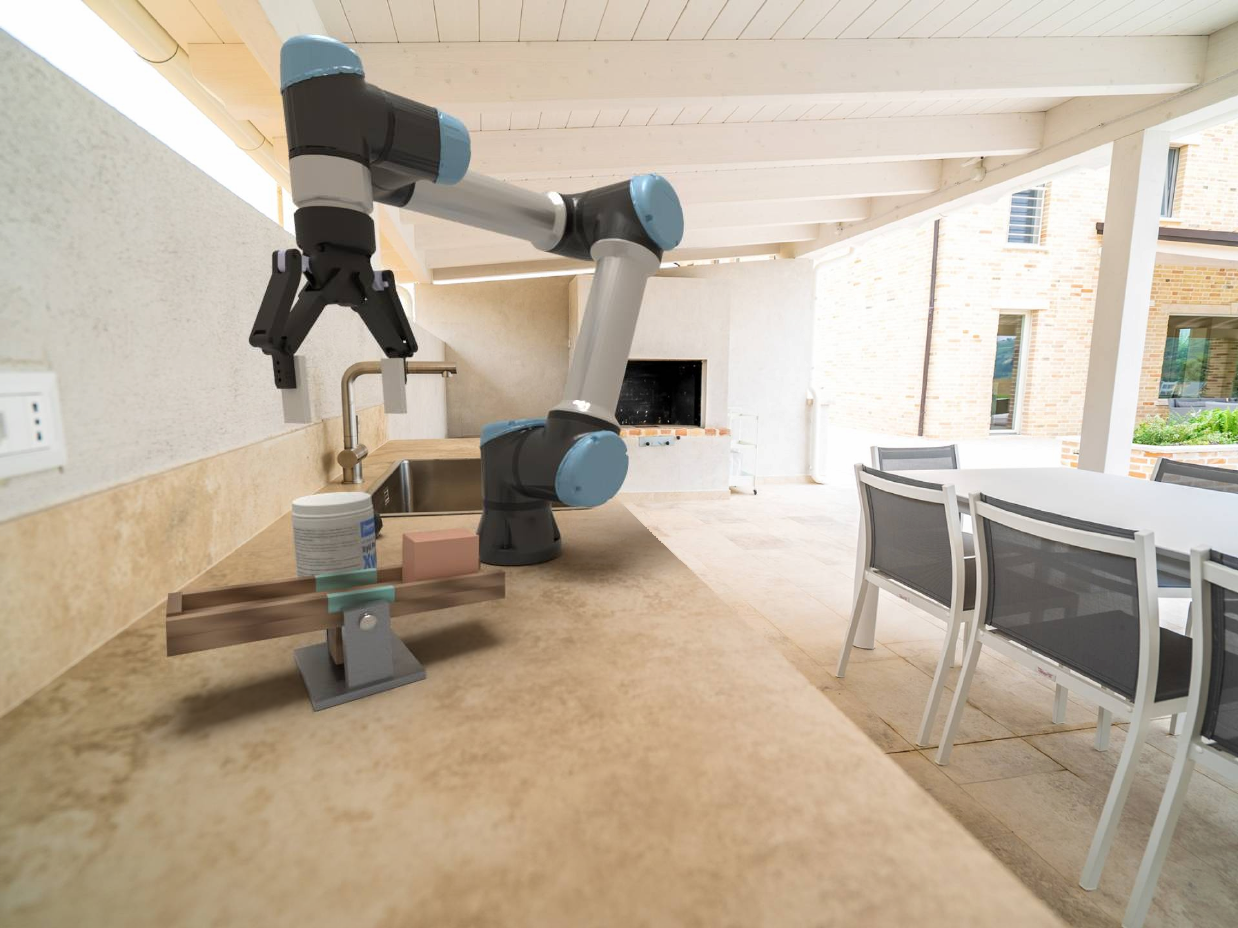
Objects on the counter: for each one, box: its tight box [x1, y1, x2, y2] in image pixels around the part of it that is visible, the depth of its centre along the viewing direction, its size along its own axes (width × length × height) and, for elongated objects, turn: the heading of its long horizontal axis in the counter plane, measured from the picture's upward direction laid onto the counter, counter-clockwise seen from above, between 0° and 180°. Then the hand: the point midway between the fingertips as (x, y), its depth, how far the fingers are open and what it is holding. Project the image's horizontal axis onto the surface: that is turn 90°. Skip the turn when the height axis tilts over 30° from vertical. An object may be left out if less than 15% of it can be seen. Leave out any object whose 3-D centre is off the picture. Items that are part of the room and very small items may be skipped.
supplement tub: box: [291, 491, 378, 578], centre depth 76 cm, size 10×10×15 cm
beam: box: [165, 556, 506, 665], centre depth 59 cm, size 30×8×8 cm, turn 126°
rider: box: [401, 527, 479, 583], centre depth 64 cm, size 7×4×6 cm, turn 126°
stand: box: [293, 598, 427, 712], centre depth 60 cm, size 10×13×8 cm
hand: (351, 418), depth 63 cm, fingers open, 13 cm apart
